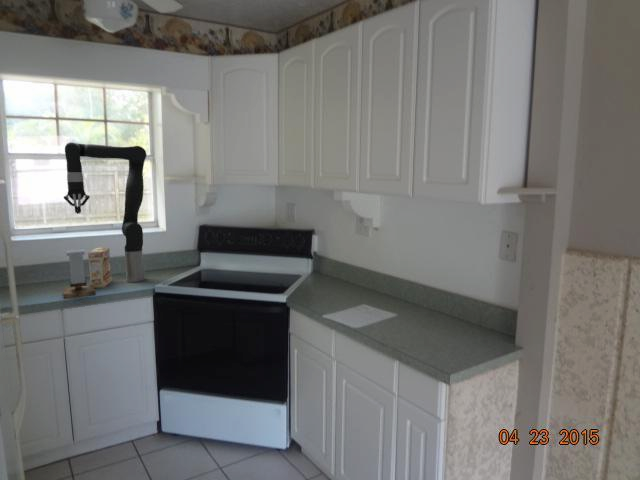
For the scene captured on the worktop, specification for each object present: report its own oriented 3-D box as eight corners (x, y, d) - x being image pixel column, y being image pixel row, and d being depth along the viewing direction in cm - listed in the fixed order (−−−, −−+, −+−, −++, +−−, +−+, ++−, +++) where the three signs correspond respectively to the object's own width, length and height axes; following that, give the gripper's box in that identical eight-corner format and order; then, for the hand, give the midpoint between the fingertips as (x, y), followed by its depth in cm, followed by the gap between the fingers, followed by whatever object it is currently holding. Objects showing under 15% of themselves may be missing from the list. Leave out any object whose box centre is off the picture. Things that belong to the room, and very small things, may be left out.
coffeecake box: (104, 287, 247) (101, 251, 243) (90, 288, 245) (87, 252, 242) (112, 281, 261) (109, 247, 258) (99, 281, 260) (96, 247, 257)
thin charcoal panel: (85, 282, 240) (85, 279, 240) (86, 285, 234) (86, 282, 233) (70, 284, 236) (69, 281, 236) (70, 287, 230) (70, 284, 230)
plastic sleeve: (86, 279, 240) (84, 249, 238) (87, 282, 233) (84, 251, 231) (69, 281, 236) (66, 250, 234) (69, 284, 230) (66, 253, 227)
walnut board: (93, 288, 245) (93, 284, 245) (95, 294, 233) (94, 290, 233) (63, 291, 238) (63, 288, 238) (63, 298, 226) (63, 294, 226)
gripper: (89, 180, 251) (91, 212, 254) (61, 181, 245) (64, 213, 248) (89, 181, 245) (92, 213, 247) (61, 181, 238) (64, 214, 241)
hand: (78, 213), depth 247 cm, fingers closed
